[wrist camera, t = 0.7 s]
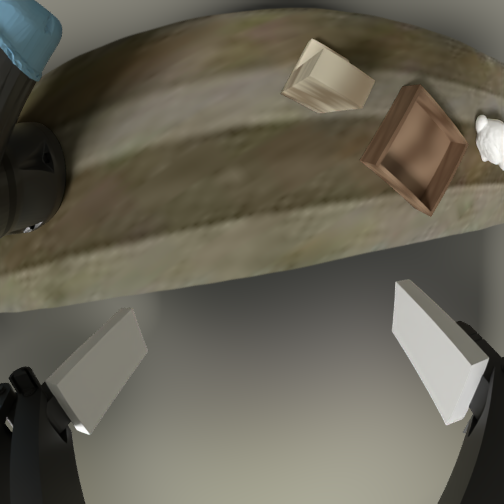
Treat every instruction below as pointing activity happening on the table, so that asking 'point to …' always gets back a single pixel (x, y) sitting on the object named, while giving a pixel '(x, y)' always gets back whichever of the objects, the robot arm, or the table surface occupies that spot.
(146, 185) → the table surface
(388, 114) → the open brown box
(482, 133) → the rabbit
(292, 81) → the beige block
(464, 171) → the table surface
